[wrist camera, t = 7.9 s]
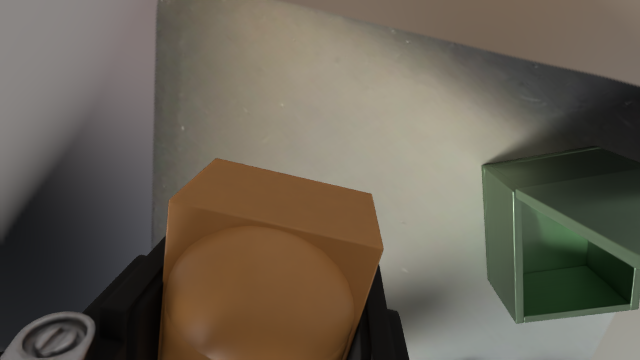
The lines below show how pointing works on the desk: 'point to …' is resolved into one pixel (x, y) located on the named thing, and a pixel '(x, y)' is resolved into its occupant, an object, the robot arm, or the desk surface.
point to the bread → (265, 266)
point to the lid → (595, 210)
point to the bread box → (551, 243)
